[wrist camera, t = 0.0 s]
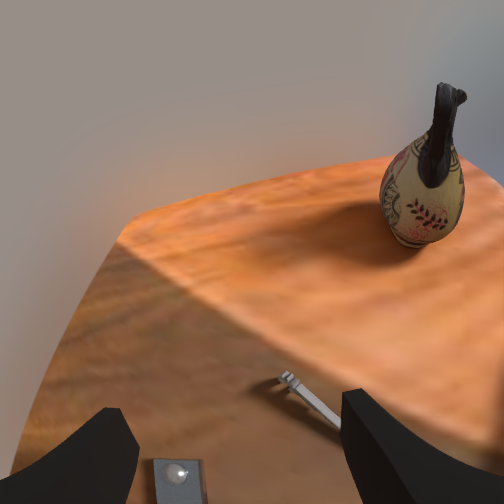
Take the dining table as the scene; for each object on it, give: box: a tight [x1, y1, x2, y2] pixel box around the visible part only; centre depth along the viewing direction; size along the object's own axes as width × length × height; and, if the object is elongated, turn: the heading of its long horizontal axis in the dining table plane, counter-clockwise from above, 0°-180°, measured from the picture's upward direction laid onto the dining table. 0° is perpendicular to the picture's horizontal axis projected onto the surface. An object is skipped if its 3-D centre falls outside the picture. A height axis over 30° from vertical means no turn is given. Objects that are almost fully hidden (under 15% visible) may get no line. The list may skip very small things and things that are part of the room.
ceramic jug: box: [379, 82, 467, 248], centre depth 40 cm, size 17×15×30 cm
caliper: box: [278, 371, 341, 430], centre depth 32 cm, size 20×1×6 cm, turn 45°
